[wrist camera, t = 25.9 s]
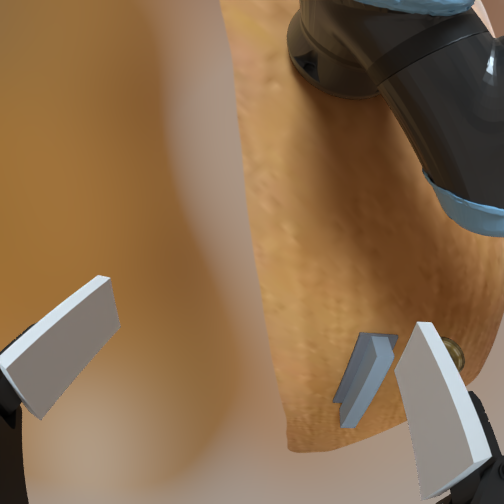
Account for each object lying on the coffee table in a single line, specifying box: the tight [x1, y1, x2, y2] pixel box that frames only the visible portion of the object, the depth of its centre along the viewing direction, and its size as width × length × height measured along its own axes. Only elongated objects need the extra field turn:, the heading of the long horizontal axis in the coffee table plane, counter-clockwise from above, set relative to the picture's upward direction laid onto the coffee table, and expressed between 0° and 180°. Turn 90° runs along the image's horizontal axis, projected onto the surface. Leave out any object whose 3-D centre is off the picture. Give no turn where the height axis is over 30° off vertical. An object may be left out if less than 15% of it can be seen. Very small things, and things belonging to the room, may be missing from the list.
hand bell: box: [440, 337, 465, 372], centre depth 39 cm, size 8×8×16 cm
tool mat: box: [333, 332, 398, 403], centre depth 43 cm, size 18×7×1 cm, turn 176°
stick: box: [340, 336, 394, 428], centre depth 41 cm, size 20×3×5 cm, turn 176°
